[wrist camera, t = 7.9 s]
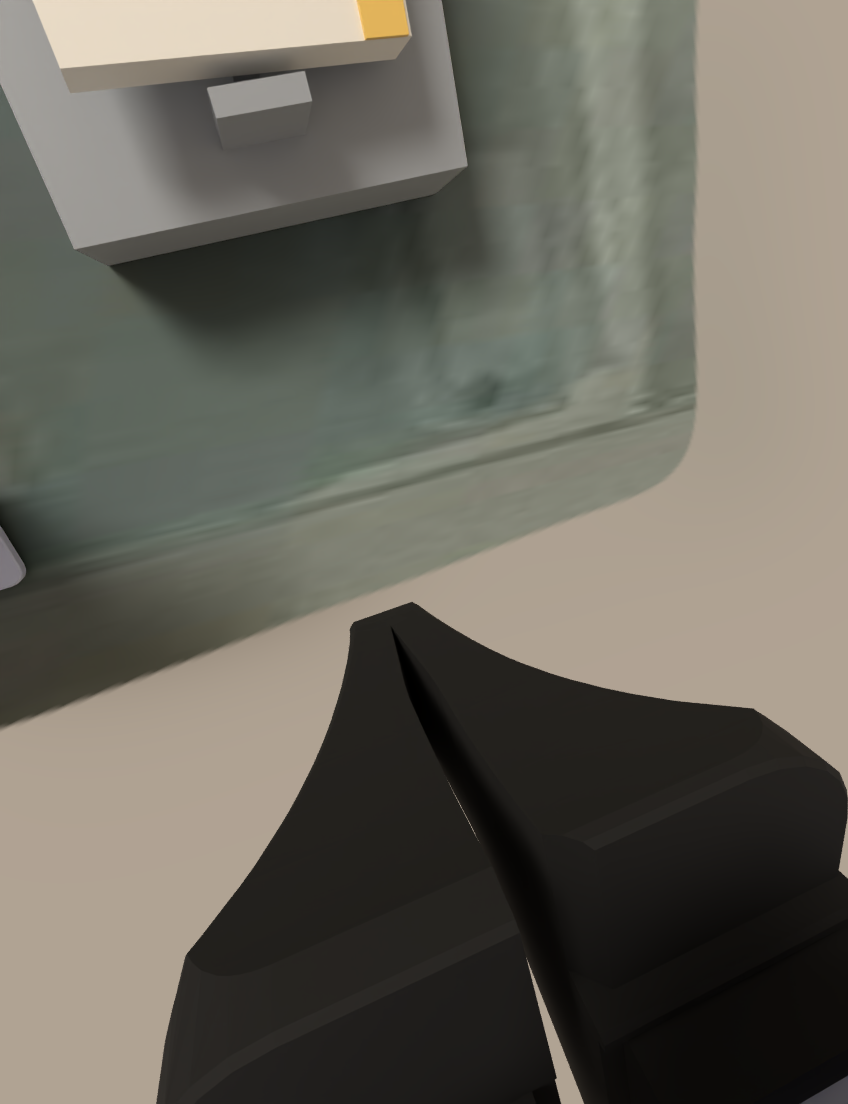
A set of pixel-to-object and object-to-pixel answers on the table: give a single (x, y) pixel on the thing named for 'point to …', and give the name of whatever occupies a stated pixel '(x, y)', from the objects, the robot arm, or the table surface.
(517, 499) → the table surface
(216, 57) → the block
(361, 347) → the table surface
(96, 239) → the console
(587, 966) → the robot arm
